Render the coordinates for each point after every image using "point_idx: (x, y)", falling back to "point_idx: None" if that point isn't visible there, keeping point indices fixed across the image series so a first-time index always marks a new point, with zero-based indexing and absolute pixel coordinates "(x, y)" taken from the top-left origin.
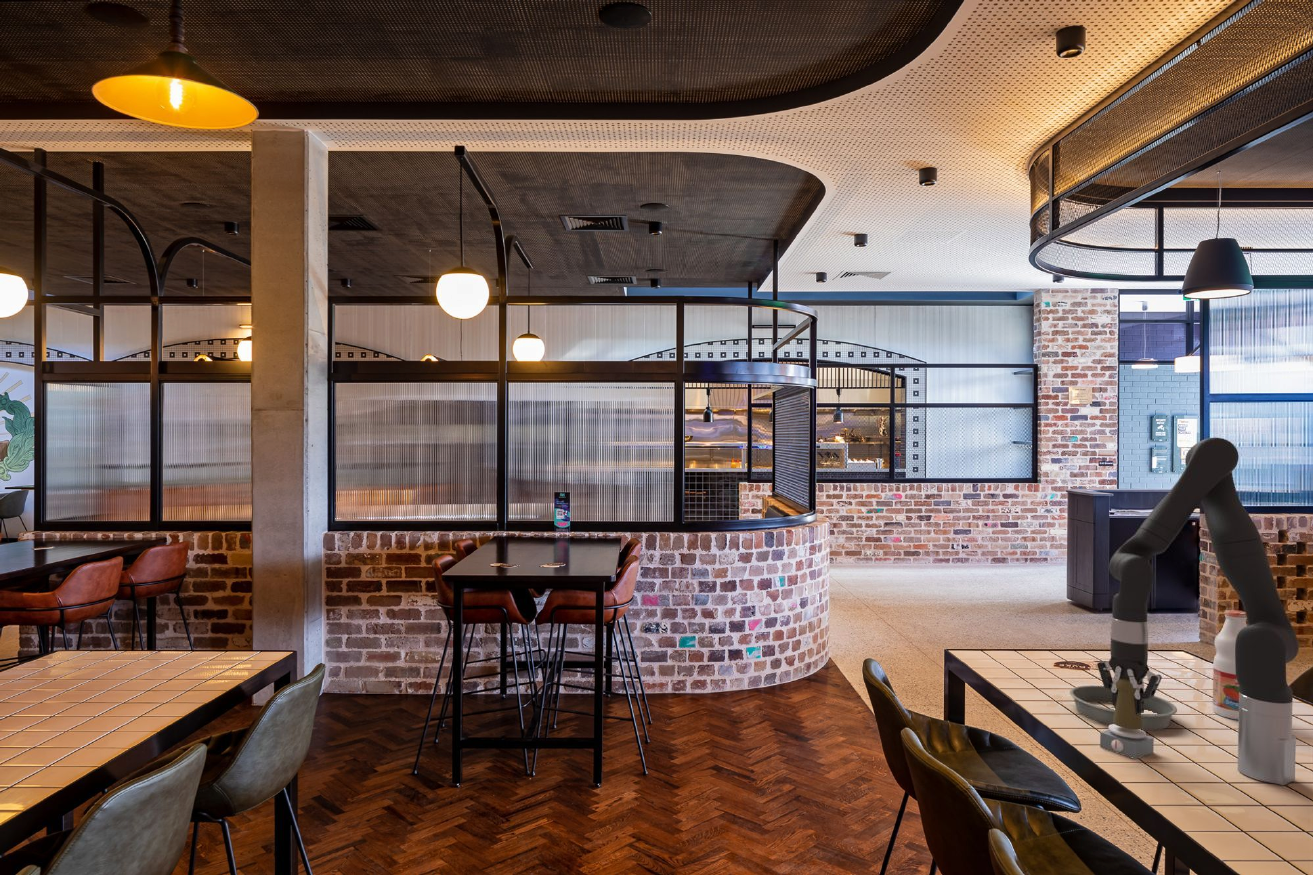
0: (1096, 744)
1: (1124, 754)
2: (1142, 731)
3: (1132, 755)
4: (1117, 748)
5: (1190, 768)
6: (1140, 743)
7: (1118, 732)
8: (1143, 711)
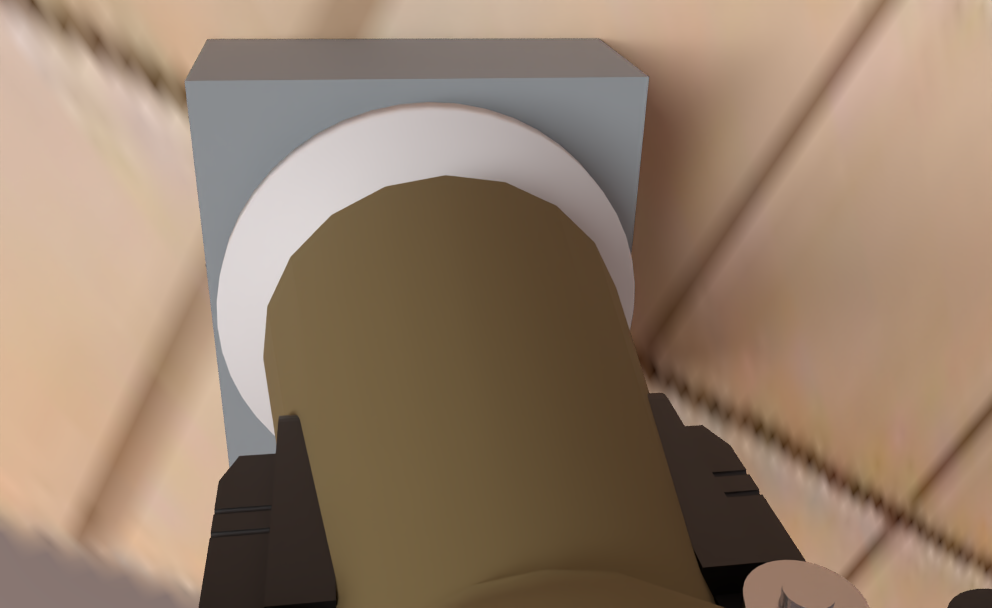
0: (179, 352)
1: None
2: (566, 192)
3: None
4: None
5: (947, 130)
6: None
7: None
8: (713, 440)
